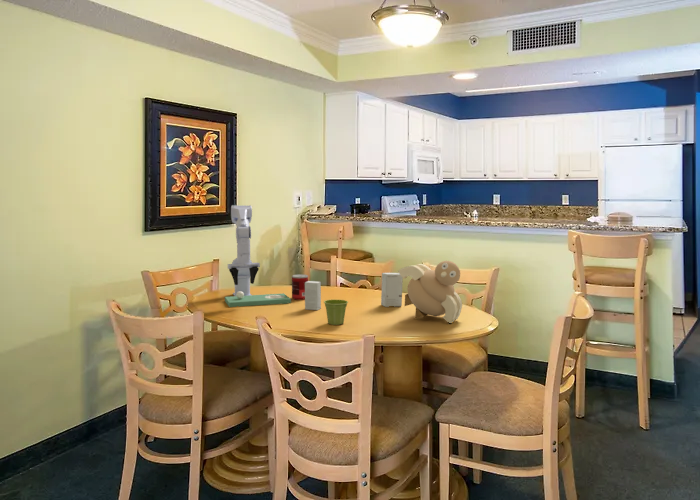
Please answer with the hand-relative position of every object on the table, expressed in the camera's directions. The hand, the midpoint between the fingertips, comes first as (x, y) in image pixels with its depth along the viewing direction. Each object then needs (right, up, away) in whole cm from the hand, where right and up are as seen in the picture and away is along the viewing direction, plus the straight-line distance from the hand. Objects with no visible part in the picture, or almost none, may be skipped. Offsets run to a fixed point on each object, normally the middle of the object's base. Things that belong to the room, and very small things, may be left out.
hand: (244, 284), depth 246 cm
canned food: (+23, -8, +20) cm, 31 cm away
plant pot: (+42, -14, -30) cm, 53 cm away
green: (+4, -9, +10) cm, 14 cm away
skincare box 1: (+31, -11, -4) cm, 33 cm away
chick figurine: (+80, -13, -20) cm, 84 cm away
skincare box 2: (+66, -10, +5) cm, 67 cm away
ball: (-3, -5, +6) cm, 9 cm away
